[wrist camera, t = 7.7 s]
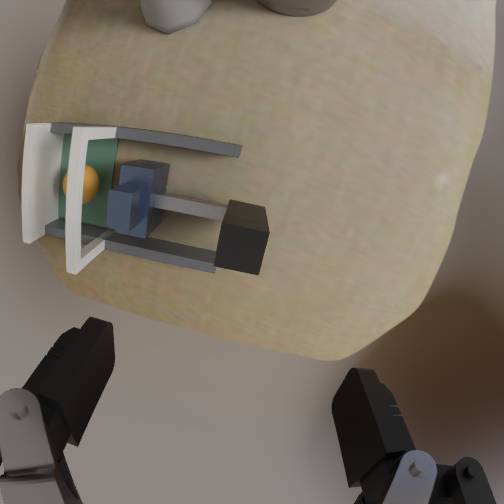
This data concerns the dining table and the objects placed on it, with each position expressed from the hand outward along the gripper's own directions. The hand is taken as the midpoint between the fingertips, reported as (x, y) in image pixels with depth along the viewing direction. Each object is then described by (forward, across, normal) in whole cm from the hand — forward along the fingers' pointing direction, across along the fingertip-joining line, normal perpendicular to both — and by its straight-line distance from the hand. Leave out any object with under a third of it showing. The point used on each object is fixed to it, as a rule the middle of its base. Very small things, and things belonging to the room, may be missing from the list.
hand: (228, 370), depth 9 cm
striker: (+21, +5, 0) cm, 22 cm away
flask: (+22, +12, -20) cm, 32 cm away
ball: (+20, +17, 0) cm, 26 cm away
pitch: (+22, +12, 0) cm, 25 cm away
